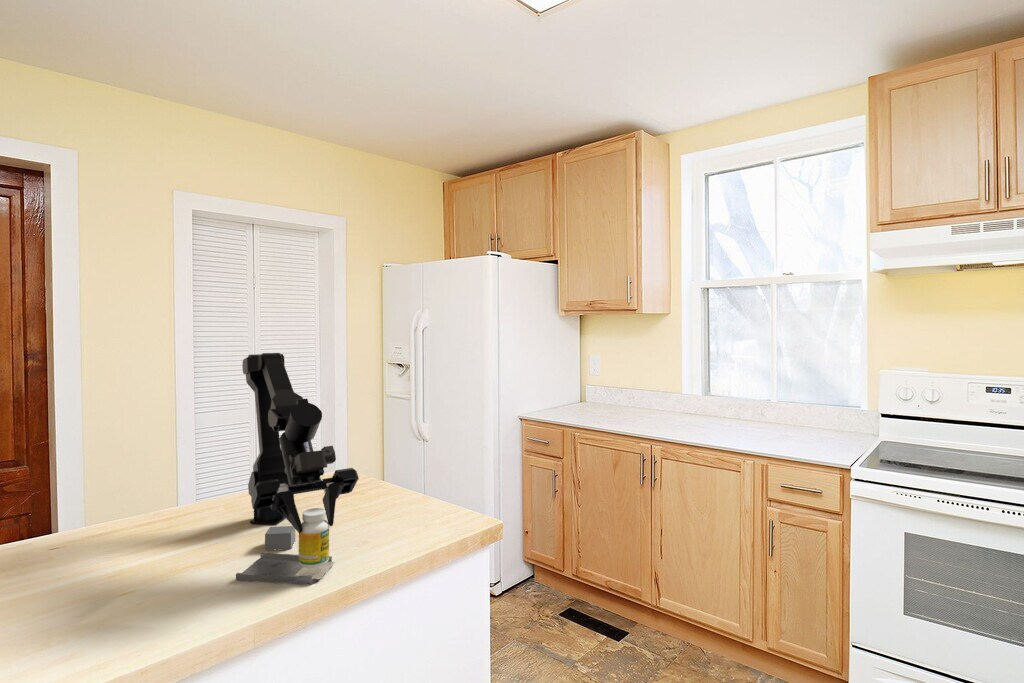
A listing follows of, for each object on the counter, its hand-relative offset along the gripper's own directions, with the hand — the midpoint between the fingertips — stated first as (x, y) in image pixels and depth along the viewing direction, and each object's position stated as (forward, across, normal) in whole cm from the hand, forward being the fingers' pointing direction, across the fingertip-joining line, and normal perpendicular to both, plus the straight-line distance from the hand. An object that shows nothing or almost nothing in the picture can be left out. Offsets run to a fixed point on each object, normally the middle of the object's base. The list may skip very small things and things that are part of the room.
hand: (316, 528), depth 102 cm
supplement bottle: (+4, 0, +6) cm, 7 cm away
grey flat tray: (+3, -4, +9) cm, 11 cm away
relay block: (-6, -2, +18) cm, 19 cm away
